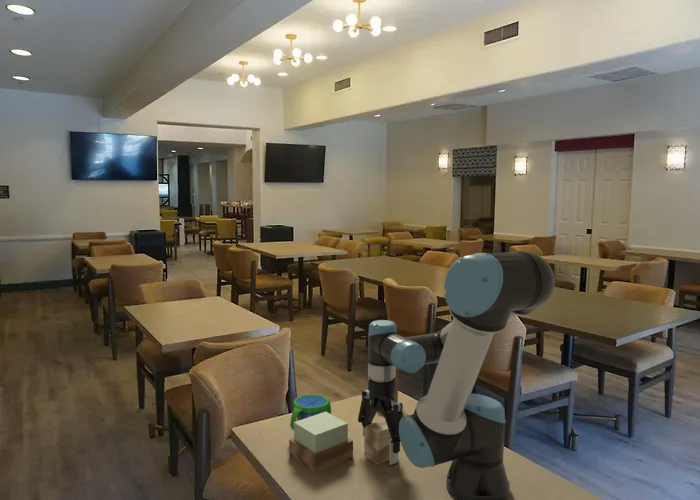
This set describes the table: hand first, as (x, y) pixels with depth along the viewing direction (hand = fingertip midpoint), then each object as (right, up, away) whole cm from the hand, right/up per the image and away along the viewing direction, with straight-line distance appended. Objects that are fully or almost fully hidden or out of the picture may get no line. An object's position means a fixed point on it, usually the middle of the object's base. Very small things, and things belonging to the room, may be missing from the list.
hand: (380, 455), depth 145 cm
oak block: (0, 0, 0) cm, 0 cm away
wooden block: (+4, +3, +34) cm, 34 cm away
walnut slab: (-17, 0, 0) cm, 17 cm away
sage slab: (-17, +5, 0) cm, 17 cm away
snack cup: (-20, +1, +14) cm, 25 cm away
